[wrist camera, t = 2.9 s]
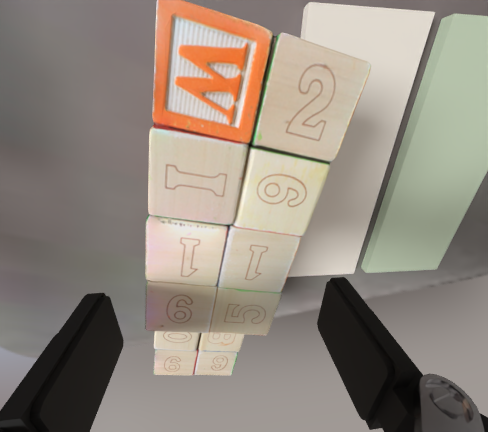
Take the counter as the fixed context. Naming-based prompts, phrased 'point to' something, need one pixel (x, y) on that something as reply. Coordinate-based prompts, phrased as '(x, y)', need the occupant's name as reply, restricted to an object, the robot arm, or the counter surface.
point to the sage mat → (437, 153)
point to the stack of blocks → (233, 176)
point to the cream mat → (360, 125)
